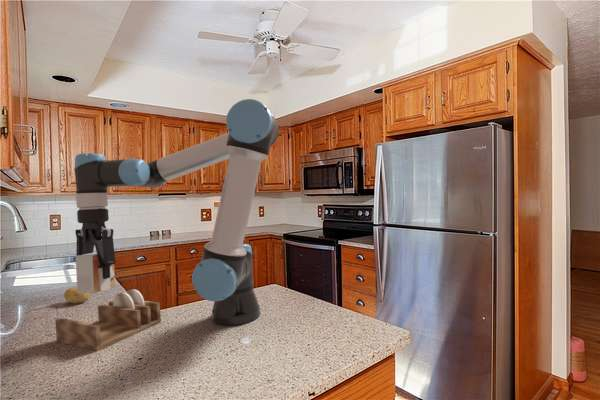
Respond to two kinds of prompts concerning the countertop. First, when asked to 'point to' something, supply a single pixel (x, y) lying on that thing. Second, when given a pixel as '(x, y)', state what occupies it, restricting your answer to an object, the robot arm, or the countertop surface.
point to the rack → (111, 322)
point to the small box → (90, 273)
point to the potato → (75, 296)
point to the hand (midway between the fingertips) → (96, 288)
